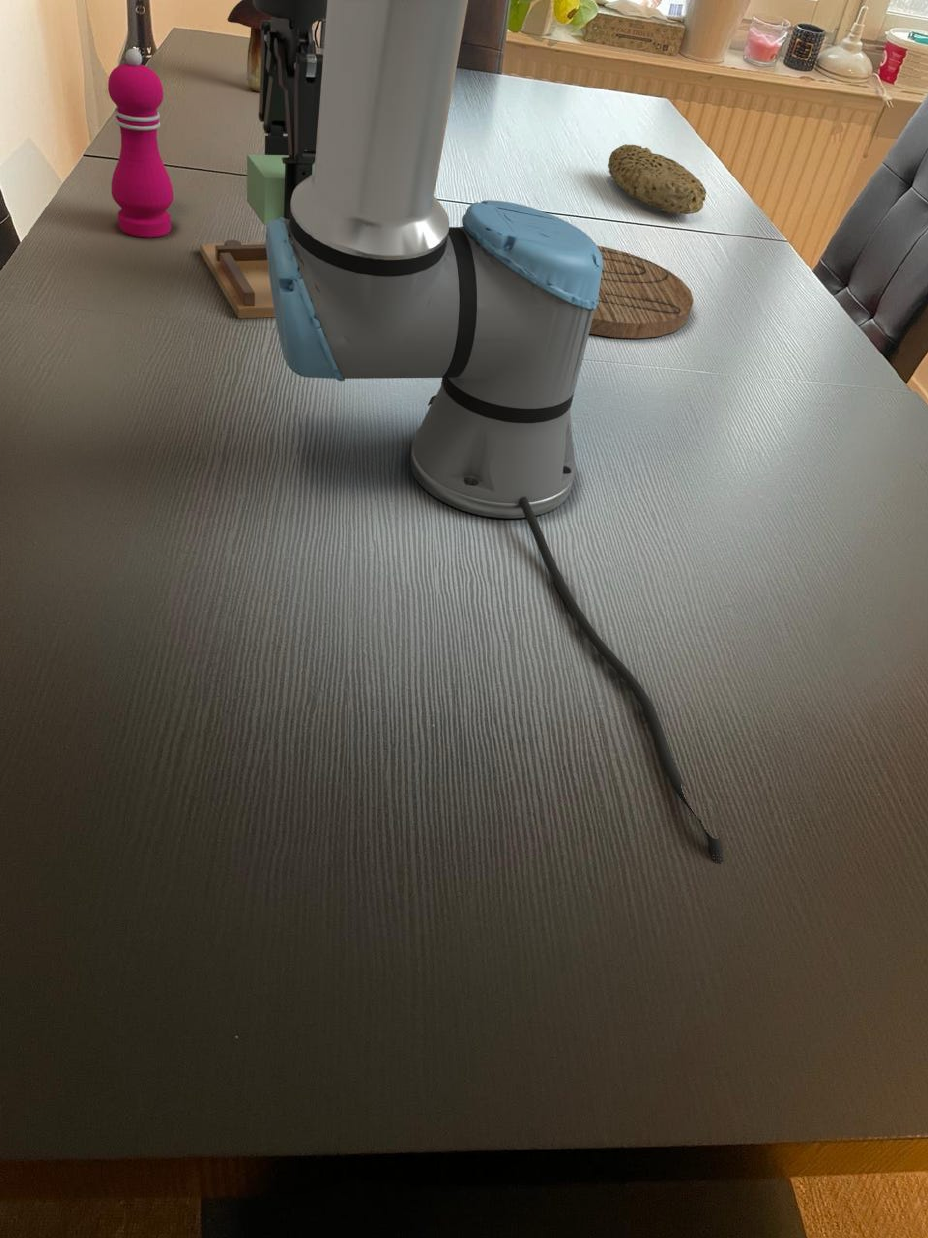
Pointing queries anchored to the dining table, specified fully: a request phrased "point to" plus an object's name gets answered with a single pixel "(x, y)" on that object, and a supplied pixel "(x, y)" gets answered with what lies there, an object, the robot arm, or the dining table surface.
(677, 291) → the trivet
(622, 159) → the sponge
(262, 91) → the robot arm
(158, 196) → the pepper mill
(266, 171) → the green block
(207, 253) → the wooden tray
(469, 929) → the dining table surface
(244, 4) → the decorative mushroom
